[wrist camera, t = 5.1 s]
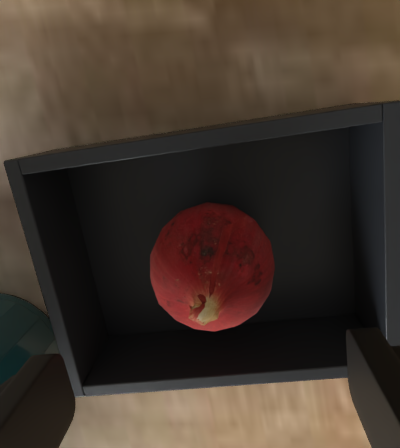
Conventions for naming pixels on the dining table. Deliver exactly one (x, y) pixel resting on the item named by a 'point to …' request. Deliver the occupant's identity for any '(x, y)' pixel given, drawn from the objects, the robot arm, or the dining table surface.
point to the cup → (22, 334)
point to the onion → (212, 267)
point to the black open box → (243, 200)
